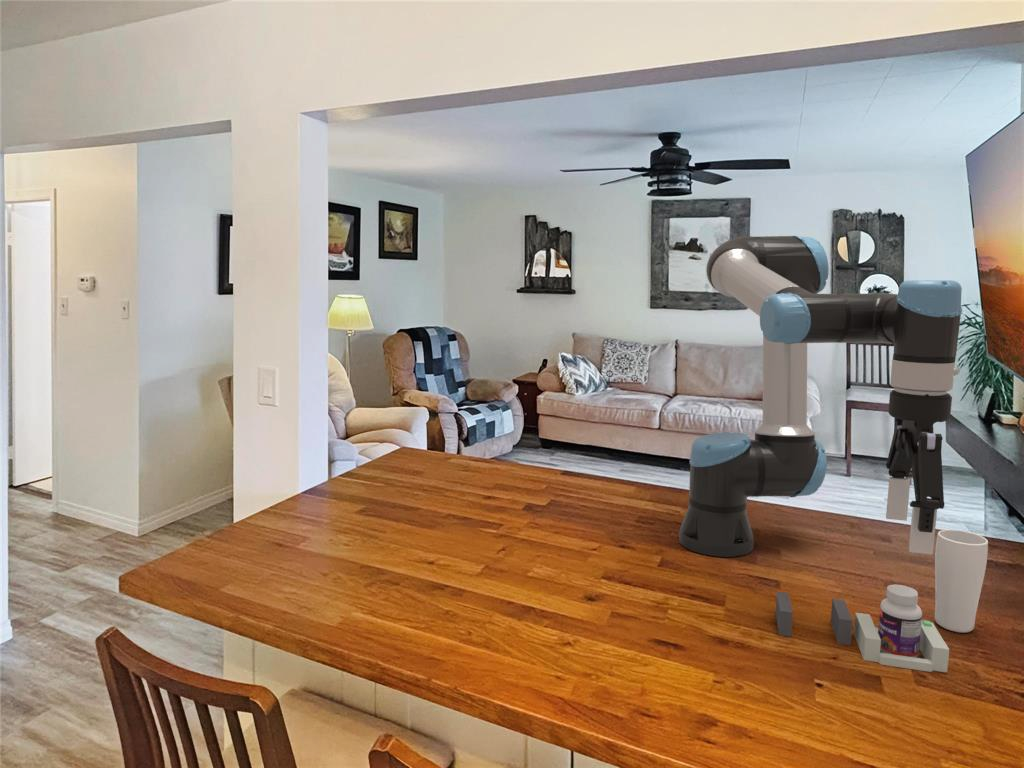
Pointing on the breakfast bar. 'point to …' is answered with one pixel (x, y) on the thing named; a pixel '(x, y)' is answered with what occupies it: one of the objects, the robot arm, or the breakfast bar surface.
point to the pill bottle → (900, 622)
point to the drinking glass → (958, 578)
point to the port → (929, 647)
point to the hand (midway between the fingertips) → (907, 534)
